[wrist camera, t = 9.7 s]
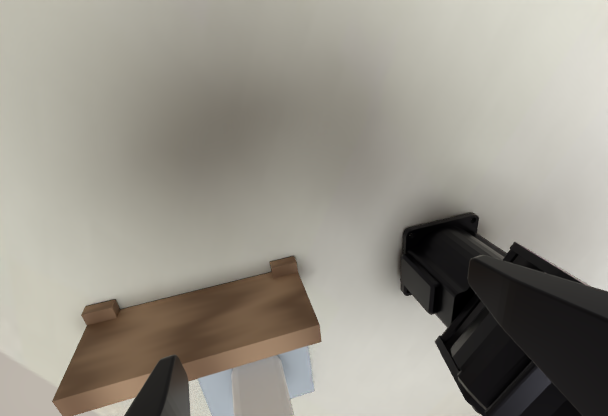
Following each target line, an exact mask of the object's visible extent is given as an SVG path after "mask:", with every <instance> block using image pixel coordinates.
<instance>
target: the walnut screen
mask: <svg viewBox="0 0 608 416" xmlns="http://www.w3.org/2000/svg"><path fill="white" fill-rule="evenodd" d="M270 266H271V271H272V272H270V273H266V274H262V275H257V276H253V277H249V278H245V279H241V280H237V281H233V282H229V283H225V284H221V285H217V286H213V287H209V288H205V289H201V290H197V291H193V292H189V293H185V294H181V295H177V296H173V297H169V298H165V299H161V300H157V301H153V302H149V303H145V304H141V305H137V306H133V307H128V308H124V309H120V308H119V306H118V304H117V302H116V300H110V301H106V302H102V303H98V304H94V305H90V306H86V307H85V309H84V311H83V313H82V315H81V316H82V317H83V319H84V321H85V323H86V325H87V327H86V329H85V331H84V333H83V336H82V338H81V340H80V342H79V344H78V346H77V349H76V351H75V353H74V355H73V357H72V359H71V362H70V364H69V366H68V368H67V370H66V372H65V375H64V377H63V379H62V381H61V383H60V386H59V388H58V390H57V392H56V394H55V396H54V399H53V401H52V402H53V403H54V405H55V406H56V407H57V409H58V410H59V411H60V413H61V414H62V416H74V415H77V414H80V413H84V412H87V411H91V410H94V409H97V408H101V407H104V406H107V405H111V404H114V403H117V402H121V401H124V400H127V399H131V398H134V397H136V396H137V395H138V393H139V391H140V390H141V388H142V387H143V385H144V383H145V382H146V380H147V379H148V377H149V375H150V374H151V372H152V371H153V369H154V367H155V366H156V364H157V363H158V361H159V360H160V359H162V358H164V357H167V356H170V355H177V356H178V357H179V359H180V361H181V363H182V365H183V367H184V369H185V371H186V373H187V377H188V381H191V380H195V379H198V378H201V377H205V376H208V375H211V374H215V373H218V372H222V371H225V370H228V369H232V368H235V367H238V366H242V365H245V364H248V363H252V362H255V361H258V360H262V359H265V358H269V357H272V356H275V355H279V354H282V353H285V352H289V351H292V350H295V349H299V348H302V347H306V346H309V345H312V344H316V343H319V342H321V333H320V325H319V322H318V320H317V317H316V315H315V313H314V310H313V308H312V305H311V303H310V300H309V298H308V296H307V293H306V291H305V288H304V286H303V283H302V281H301V279H300V276H299V274H298V269H297V262H296V260H295V257H294V256H292V257H288V258H284V259H280V260H276V261H272V262H270Z"/></svg>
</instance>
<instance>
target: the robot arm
mask: <svg viewBox="0 0 608 416" xmlns="http://www.w3.org/2000/svg"><path fill="white" fill-rule="evenodd" d="M471 219H472V220H471ZM478 221H479V217H478V216H477V215H476V214H474V213H469V214H464V215H460V216H456V217H452V218H448V219H444V220H440V221H435V222H431V223H427V224H423V225H419V226H415V227H411V228H408V229H406V230H405V231H404V234H403V255H402V257H401V279H400V280H401V282H402V284H401V291H402V292H403V293H404V295H406V296H409V295H413V296H414V297H415V298H416V300H417V301H418V302H419V303H420V304H421V305H422V307H423V308H424V309H425V310H426V311H427V312H428V313H429V314H431V315H432V314H436V315H437V316H438V318H439V319H440V320H441V321H442V322H443V323H444V324H445V326H446V327H447V329H446V330H445V332H444V333H443V334H442V335H441V336H439V337H438V338H437V339H436V341H435V343H436V345H437V347H438V349H439V351H440V353H441V355H442V357H443V359H444V360H445V362H446V364H447V366H448V368H449V370H450V372H451V374H452V376H453V377H454V379H455V381H456V383H457V385H458V387H459V389H460V391H461V393H462V394H463V396H464V398H465V400H466V401H467V402H468V403H469V404H470V405H472V407H473V409H474V410H475V411H476V412H477V413H479V414H481V415H482V416H608V292H607V291H604V290H601V289H597V288H594V287H591V286H590V285H588V284H586V283H585V282H583V281H581V280H580V279H578V278H576V277H575V276H573V275H571V274H569V273H568V272H566V271H564V270H563V269H561V268H559V267H558V266H556V265H554V264H553V263H551V262H549V261H547V260H546V259H544V258H542V257H540V256H539V255H537V254H535V253H533V252H532V251H530V250H528V249H526V248H525V247H523V246H521V245H520V244H518V243H516V242H514V243H513V245H512V246H511V247H510V249H511V250H510V251H509V252H508V253H506V252H504V251H503V250H501V249H500V248H498V247H497V246H495V245H494V244H492V243H491V242H489V241H488V240H486V239H485V238H483V237H481V236H480V235H478V234H477V227H478ZM411 233H412V234H411ZM410 234H411V235H410ZM409 235H410V236H409ZM124 416H190V402H189V384H188V377H187V373H186V371H185V369H184V367H183V365H182V363H181V361H180V359H179V357H178V356H177V355H170V356H167V357H164V358H162V359H160V360H159V361H158V363H157V364H156V366H155V367H154V369H153V371H152V372H151V374H150V375H149V377H148V379H147V380H146V382H145V383H144V385H143V387H142V388H141V390H140V391H139V393H138V395H137V396H136V398H135V399H134V401H133V402H132V404H131V406H130V407H129V409H128V410H127V412H126V414H125V415H124Z"/></svg>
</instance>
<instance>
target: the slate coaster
mask: <svg viewBox="0 0 608 416" xmlns="http://www.w3.org/2000/svg"><path fill="white" fill-rule="evenodd" d="M277 356H278V357H279V359H280V360H281V362H282V366H283V371H284V375H285V379H286V383H287V387H288V392H289V396H290V399H291V398H295V397H298V396H301V395H304V394H307V393H310V392H313V391H314V384H313V377H312V370H311V363H310V356H309V349H308V346H306V347H302V348H299V349H295V350H292V351H289V352H285V353H282V354H279V355H277ZM232 371H233V368H232V369H228V370H225V371H222V372H218V373H215V374H211V375H208V376H205V377H201V378H198V381H199V383H200V386H201V389H202V391H203V394H204V396H205V399H206V402H207V404H208V407H209V409H210V412H211V415H212V416H234V410H233V395H232V380H231V374H232Z"/></svg>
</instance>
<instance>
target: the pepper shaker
mask: <svg viewBox="0 0 608 416" xmlns="http://www.w3.org/2000/svg"><path fill="white" fill-rule="evenodd" d="M231 380H232V395H233V410H234V416H294V413H293V409H292V404H291V400H290V396H289V392H288V387H287V383H286V379H285V375H284V371H283V366H282V362H281V360H280V359H279V357H278V356H277V355H275V356H272V357H269V358H265V359H262V360H258V361H255V362H252V363H248V364H245V365H242V366H238V367H235V368H233V371H232V374H231Z"/></svg>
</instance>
